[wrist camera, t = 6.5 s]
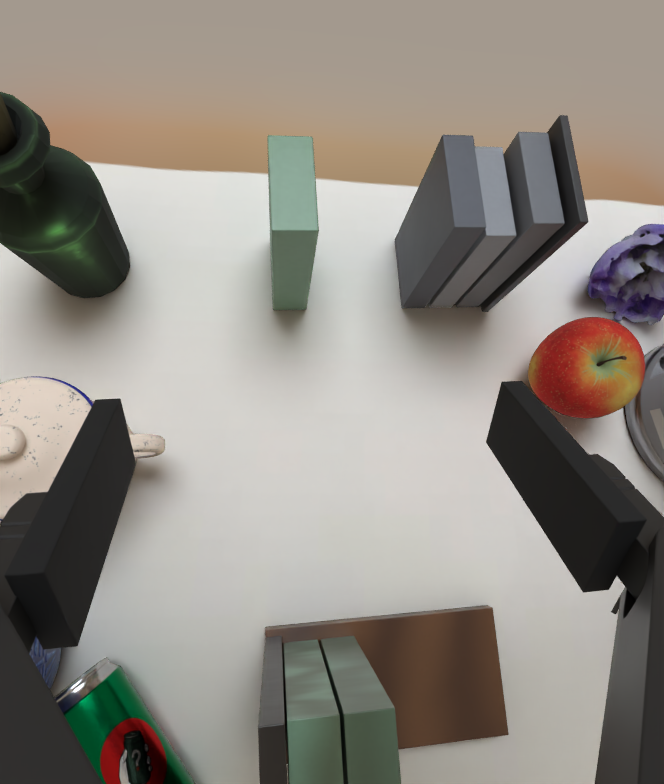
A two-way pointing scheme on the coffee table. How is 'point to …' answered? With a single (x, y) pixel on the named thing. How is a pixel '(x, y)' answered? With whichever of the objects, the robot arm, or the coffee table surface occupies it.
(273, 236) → the green book
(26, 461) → the teacup with lid
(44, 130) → the potion bottle
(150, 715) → the soda can
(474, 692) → the book rack
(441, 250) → the grey books
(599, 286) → the flower
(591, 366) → the apple
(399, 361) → the coffee table surface
